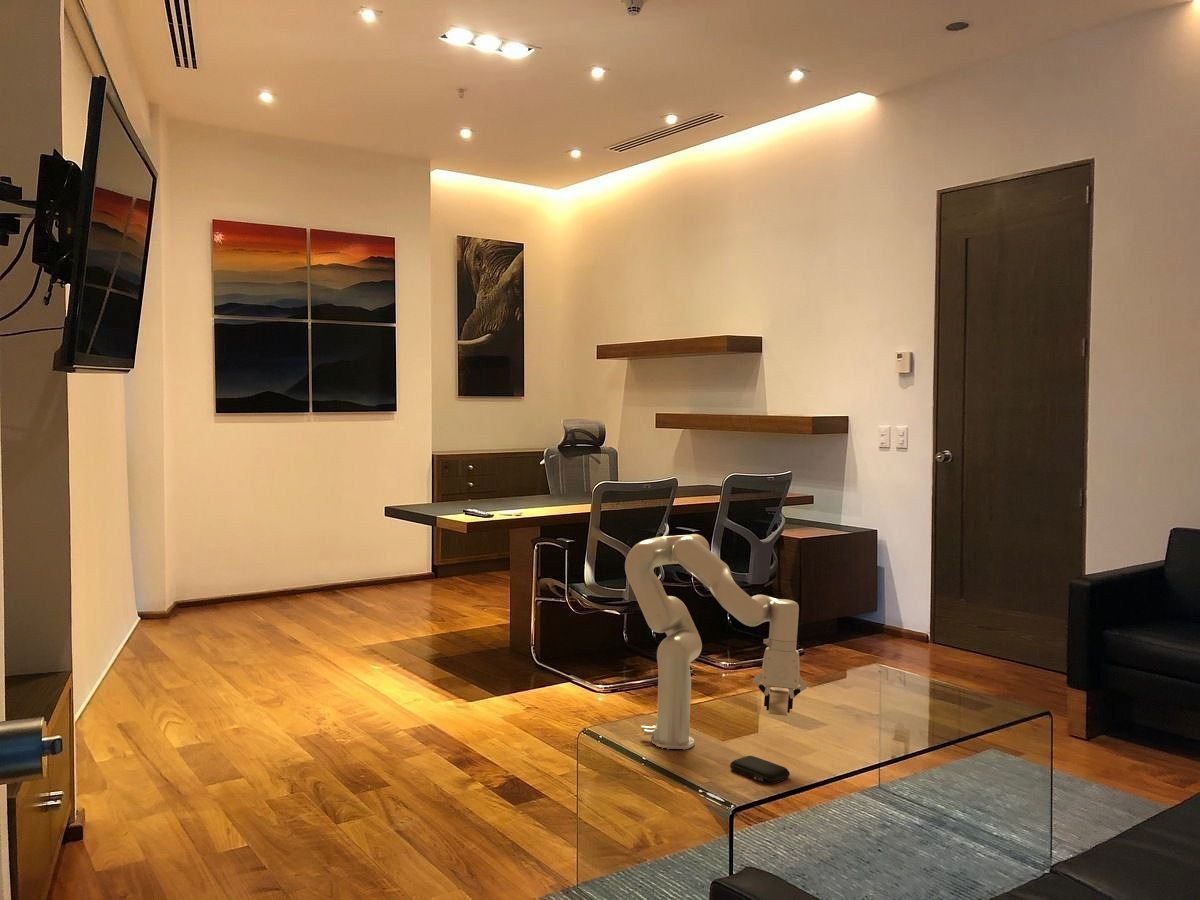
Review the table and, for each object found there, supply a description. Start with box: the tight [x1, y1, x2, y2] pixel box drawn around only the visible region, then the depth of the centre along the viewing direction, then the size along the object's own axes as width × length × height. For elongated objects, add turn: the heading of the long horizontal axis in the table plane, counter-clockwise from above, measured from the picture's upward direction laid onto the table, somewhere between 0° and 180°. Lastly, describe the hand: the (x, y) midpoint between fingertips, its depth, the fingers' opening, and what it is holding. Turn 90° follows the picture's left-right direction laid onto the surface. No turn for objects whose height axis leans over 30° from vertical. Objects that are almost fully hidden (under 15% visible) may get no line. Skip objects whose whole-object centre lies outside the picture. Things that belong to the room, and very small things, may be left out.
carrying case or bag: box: [729, 755, 791, 785], centre depth 251 cm, size 11×3×15 cm
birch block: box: [768, 687, 789, 717], centre depth 260 cm, size 5×5×6 cm
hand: (777, 709), depth 260 cm, fingers closed on birch block, 5 cm apart
